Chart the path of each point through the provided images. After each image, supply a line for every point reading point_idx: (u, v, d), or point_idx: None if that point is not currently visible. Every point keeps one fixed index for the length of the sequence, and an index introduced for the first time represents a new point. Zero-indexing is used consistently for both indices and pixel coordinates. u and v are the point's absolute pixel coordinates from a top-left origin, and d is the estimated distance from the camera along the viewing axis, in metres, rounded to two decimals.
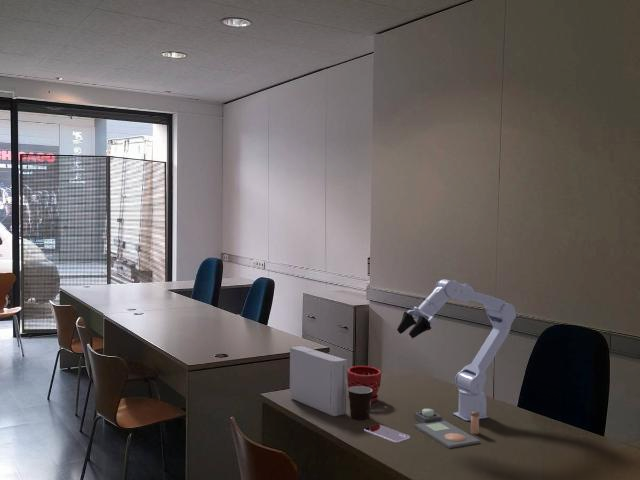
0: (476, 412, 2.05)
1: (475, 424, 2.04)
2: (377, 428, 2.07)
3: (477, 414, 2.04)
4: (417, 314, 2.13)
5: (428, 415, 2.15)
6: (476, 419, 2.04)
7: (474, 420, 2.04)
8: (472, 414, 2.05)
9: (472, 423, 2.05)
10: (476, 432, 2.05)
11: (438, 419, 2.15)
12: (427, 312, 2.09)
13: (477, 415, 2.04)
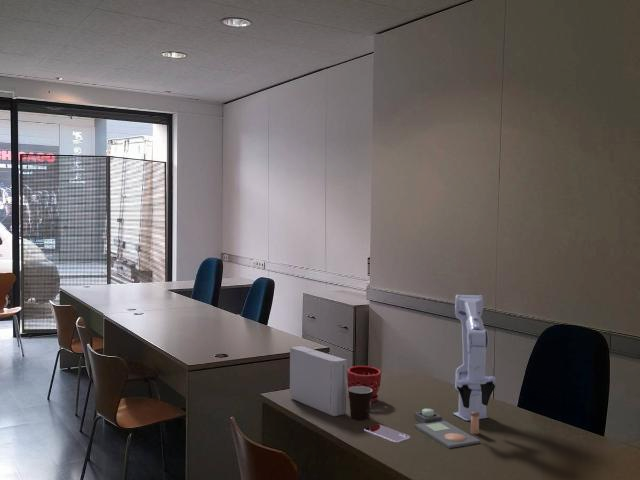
0: (476, 412, 2.05)
1: (475, 424, 2.04)
2: (377, 428, 2.07)
3: (477, 414, 2.04)
4: None
5: (428, 415, 2.15)
6: (476, 419, 2.04)
7: (474, 420, 2.04)
8: (472, 414, 2.05)
9: (472, 423, 2.05)
10: (476, 432, 2.05)
11: (438, 419, 2.15)
12: None
13: (477, 415, 2.04)
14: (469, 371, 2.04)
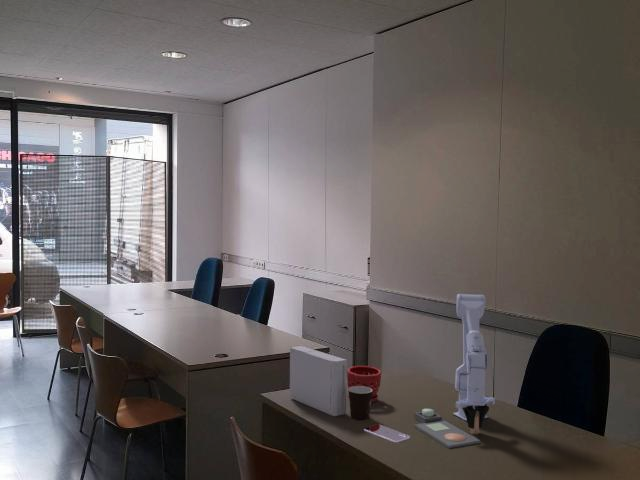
0: (476, 412, 2.05)
1: (475, 424, 2.04)
2: (377, 428, 2.07)
3: (477, 414, 2.04)
4: None
5: (428, 415, 2.15)
6: (476, 419, 2.04)
7: None
8: None
9: None
10: (476, 432, 2.05)
11: (438, 419, 2.15)
12: None
13: (477, 415, 2.04)
14: (468, 392, 2.04)
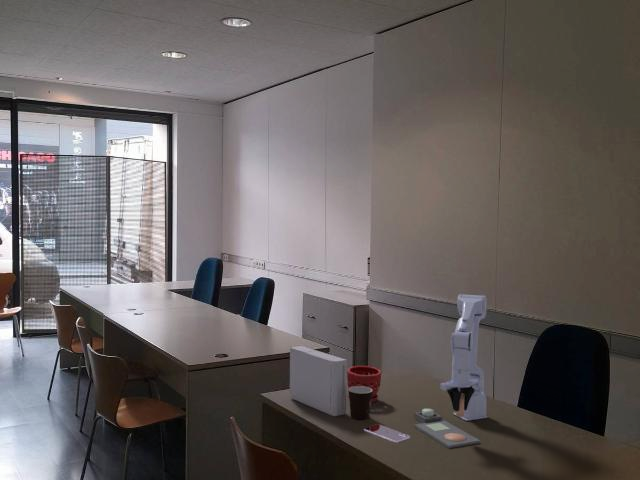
0: (461, 394, 1.99)
1: (460, 406, 1.99)
2: (377, 428, 2.07)
3: (462, 396, 1.98)
4: None
5: (428, 415, 2.15)
6: (461, 401, 1.98)
7: None
8: None
9: None
10: (461, 415, 1.99)
11: (438, 419, 2.15)
12: None
13: (462, 397, 1.98)
14: (453, 374, 1.98)
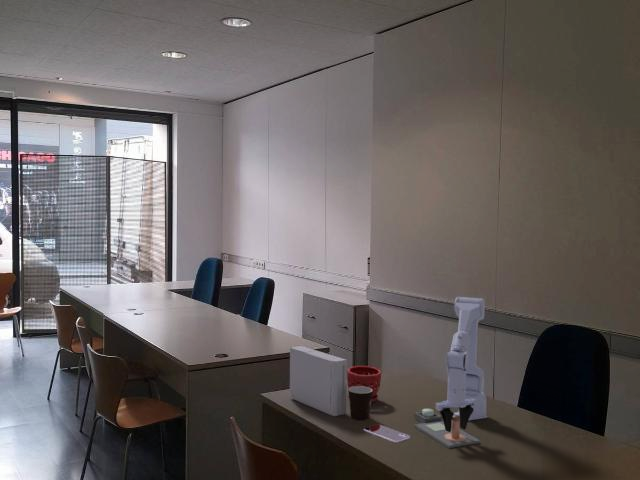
0: (457, 416, 1.98)
1: (456, 428, 1.98)
2: (377, 428, 2.07)
3: (458, 418, 1.97)
4: None
5: (428, 415, 2.15)
6: (457, 423, 1.97)
7: (454, 424, 1.97)
8: (453, 418, 1.98)
9: (453, 427, 1.98)
10: (457, 437, 1.98)
11: (438, 419, 2.15)
12: None
13: (458, 419, 1.97)
14: (449, 394, 1.97)
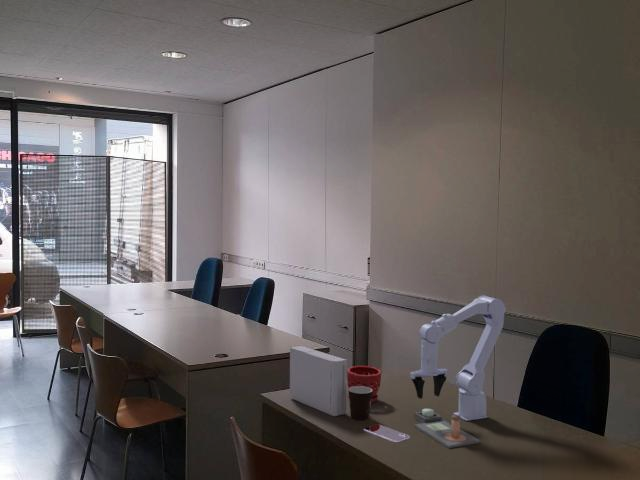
0: (457, 416, 1.98)
1: (456, 428, 1.98)
2: (377, 428, 2.07)
3: (458, 418, 1.98)
4: None
5: (428, 415, 2.15)
6: (457, 423, 1.98)
7: (454, 424, 1.98)
8: (453, 417, 1.98)
9: (453, 427, 1.98)
10: (457, 437, 1.98)
11: (438, 419, 2.15)
12: None
13: (458, 419, 1.98)
14: (422, 364, 2.15)
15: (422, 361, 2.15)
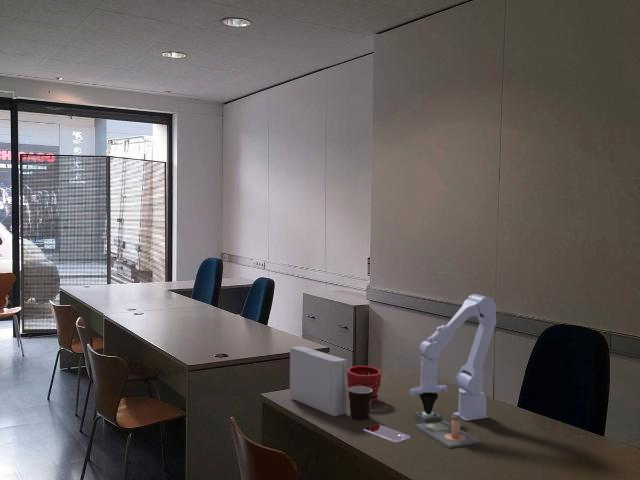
0: (457, 416, 1.98)
1: (456, 428, 1.98)
2: (377, 428, 2.07)
3: (458, 418, 1.98)
4: None
5: None
6: (457, 423, 1.98)
7: (454, 424, 1.98)
8: (453, 417, 1.98)
9: (453, 427, 1.98)
10: (457, 437, 1.98)
11: (438, 419, 2.15)
12: None
13: (458, 419, 1.98)
14: (421, 380, 2.16)
15: (422, 378, 2.15)
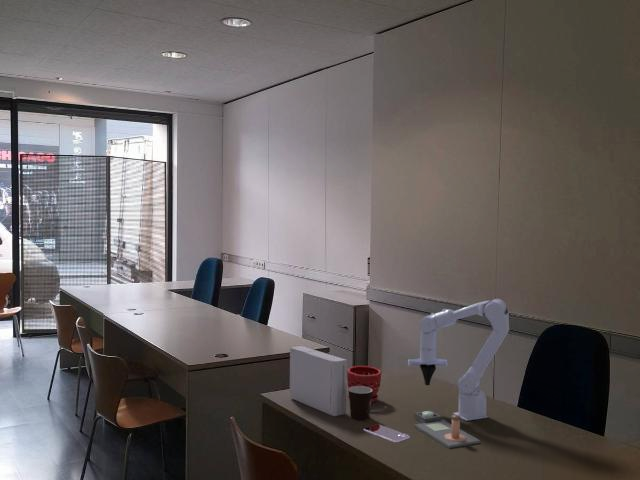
0: (457, 416, 1.98)
1: (456, 428, 1.98)
2: (377, 428, 2.07)
3: (458, 418, 1.98)
4: None
5: None
6: (457, 423, 1.98)
7: (454, 424, 1.98)
8: (453, 417, 1.98)
9: (453, 427, 1.98)
10: (457, 437, 1.98)
11: (438, 419, 2.15)
12: (435, 357, 2.27)
13: (458, 419, 1.98)
14: (420, 352, 2.28)
15: (420, 350, 2.28)
